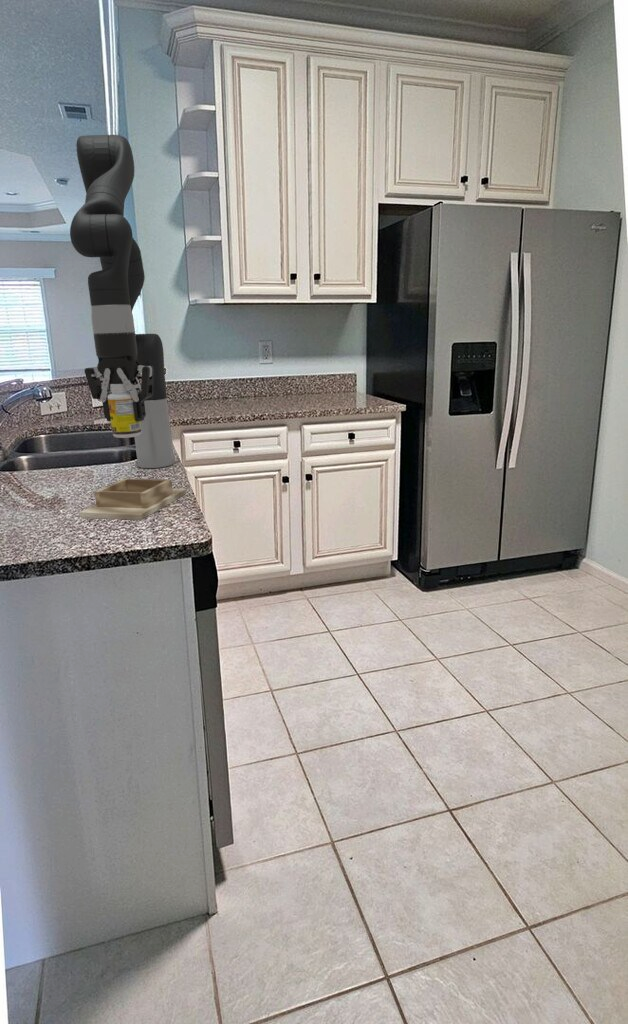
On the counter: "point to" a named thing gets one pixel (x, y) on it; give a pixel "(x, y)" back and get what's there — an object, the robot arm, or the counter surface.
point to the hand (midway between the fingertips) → (125, 420)
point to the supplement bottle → (122, 412)
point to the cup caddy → (132, 499)
